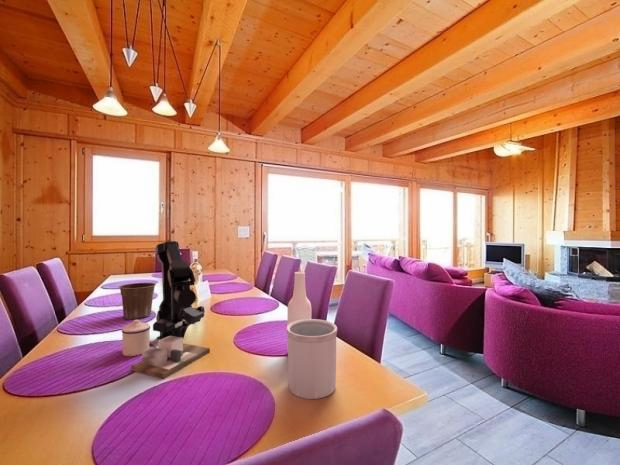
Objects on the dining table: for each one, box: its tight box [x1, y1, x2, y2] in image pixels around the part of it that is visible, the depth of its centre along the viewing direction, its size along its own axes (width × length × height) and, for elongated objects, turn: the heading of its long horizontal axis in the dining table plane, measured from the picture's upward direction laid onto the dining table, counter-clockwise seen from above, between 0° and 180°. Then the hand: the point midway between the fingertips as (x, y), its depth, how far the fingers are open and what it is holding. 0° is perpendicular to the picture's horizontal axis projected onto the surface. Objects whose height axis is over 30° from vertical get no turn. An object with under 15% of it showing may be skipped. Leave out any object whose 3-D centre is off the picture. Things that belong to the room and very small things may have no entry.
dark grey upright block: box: [171, 350, 181, 362], centre depth 97 cm, size 3×1×3 cm, turn 69°
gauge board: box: [130, 342, 211, 380], centre depth 100 cm, size 14×20×6 cm
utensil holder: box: [286, 318, 338, 400], centre depth 85 cm, size 15×15×18 cm
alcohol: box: [286, 271, 312, 353], centre depth 107 cm, size 9×9×30 cm
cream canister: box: [121, 319, 151, 357], centre depth 108 cm, size 12×9×12 cm
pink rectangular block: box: [157, 336, 184, 358], centre depth 101 cm, size 10×5×5 cm, turn 69°
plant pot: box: [118, 282, 156, 320], centre depth 150 cm, size 16×16×16 cm
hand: (180, 342), depth 106 cm, fingers closed
